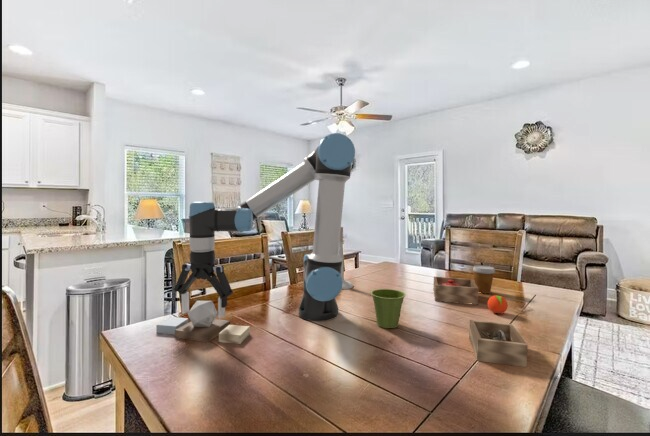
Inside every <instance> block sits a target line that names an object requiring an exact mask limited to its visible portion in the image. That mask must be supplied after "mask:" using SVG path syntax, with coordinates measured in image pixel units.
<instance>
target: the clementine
mask: <svg viewBox="0 0 650 436" xmlns="http://www.w3.org/2000/svg"><path fill="white" fill-rule="evenodd" d="M487 307H488V309H489V310H490V311H491V312H492V313H493V312H494V314H496V313H501V314H503V313H505V312H506V311H507V310H508V307H509V306H508V301H507V300H506V299H505V298H504V297H503V296H501V295H499V294H498V295H497V294H496V295H495V294H494V295H492V296H490V297H489V298H488V300H487Z"/></svg>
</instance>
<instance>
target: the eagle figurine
mask: <svg viewBox="0 0 650 436" xmlns="http://www.w3.org/2000/svg"><path fill="white" fill-rule="evenodd" d="M480 332H481V333H482V334H483V335H484V336H485V337H487V338H488V339H491V340H500V341H506V338H505V335H504V332H503V331H501V330H499V332H498V337H495V332H494V334H493V336H492V337H491V334H490V331H488V333H487V335H486V334H485V333H483V332H482V331H481V330H480Z"/></svg>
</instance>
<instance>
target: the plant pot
mask: <svg viewBox="0 0 650 436" xmlns="http://www.w3.org/2000/svg"><path fill="white" fill-rule="evenodd" d="M370 294H371V296H372V300H373V305H374V310H375V311H374V312H375V317H376V324H377V326H379V327H380V328H383V329H390V328H391V329H396V328H397V327H398V326H399V321H400V316H401V309H402V306H403V302H404V298H405V297H406V293H405V292H403V291H402V290H397V289H391V288H377V289H373V290H371V292H370Z"/></svg>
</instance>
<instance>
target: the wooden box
mask: <svg viewBox="0 0 650 436" xmlns="http://www.w3.org/2000/svg"><path fill="white" fill-rule="evenodd" d="M448 280H454V282H453V283H456V284H458V285H460V286H448V285H442V284H443V283H448ZM433 291H434V292H433V297H435V298H434V301H435V302H440V301H444V302H443V303H451V302H458V303H457V304H462V303H472V304H471V305H473V304H478V305H479V293H478V291H479V288H478V287H477V285H476V284H475V280H474V279H473V278H459V277H446V276H443V277H442V276H433Z"/></svg>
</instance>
